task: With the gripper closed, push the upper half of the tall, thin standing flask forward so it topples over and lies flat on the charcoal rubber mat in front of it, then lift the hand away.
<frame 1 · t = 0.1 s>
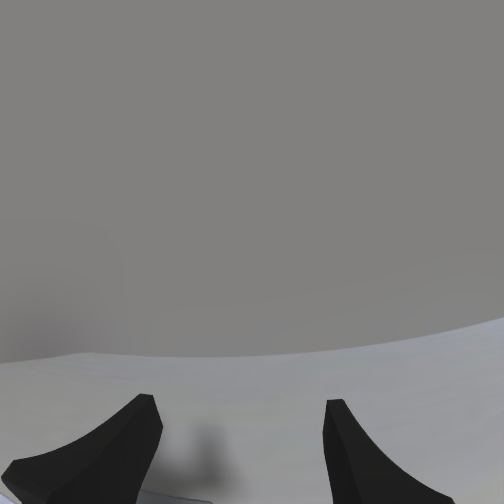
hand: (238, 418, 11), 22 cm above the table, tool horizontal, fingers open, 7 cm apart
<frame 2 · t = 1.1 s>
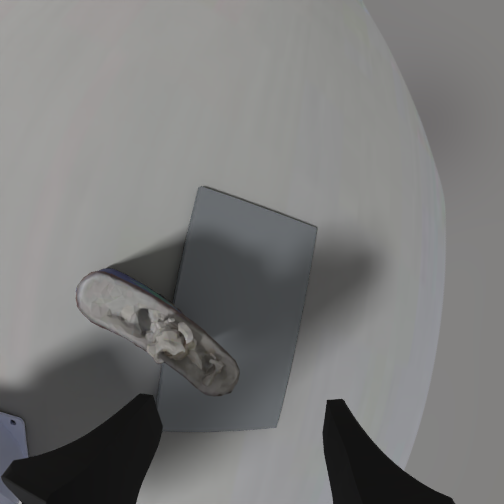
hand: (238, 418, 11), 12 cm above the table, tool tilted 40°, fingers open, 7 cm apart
flask: (147, 310, 21), on the table, touching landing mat
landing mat: (239, 324, 25), on the table
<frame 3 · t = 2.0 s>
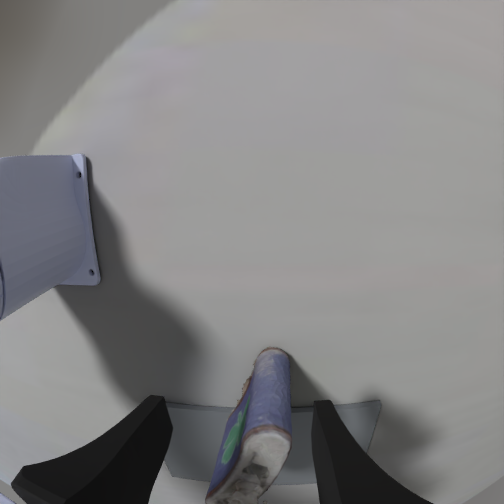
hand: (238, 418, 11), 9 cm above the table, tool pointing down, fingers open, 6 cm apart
flask: (257, 393, 22), on the table, touching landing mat
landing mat: (261, 450, 24), on the table
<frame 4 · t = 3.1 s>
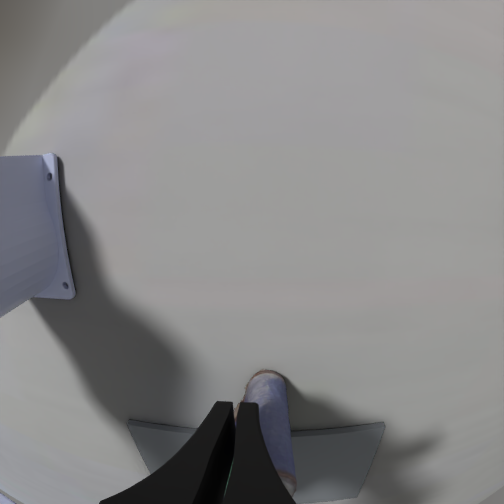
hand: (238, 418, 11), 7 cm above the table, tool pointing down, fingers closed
flask: (249, 417, 19), on the table, touching gripper, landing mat
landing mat: (255, 472, 21), on the table
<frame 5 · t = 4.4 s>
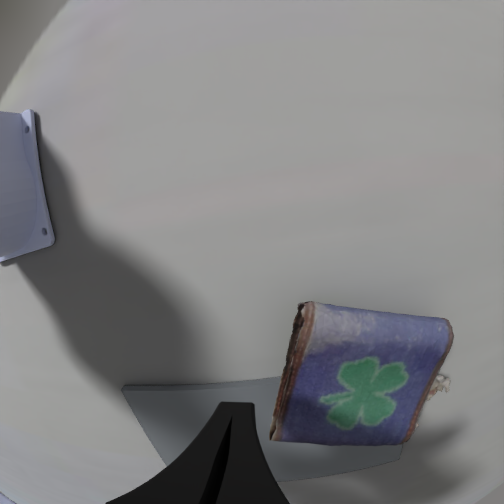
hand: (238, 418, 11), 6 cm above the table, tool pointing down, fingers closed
flask: (279, 377, 15), point 2 cm above the table, touching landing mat
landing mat: (275, 437, 19), on the table
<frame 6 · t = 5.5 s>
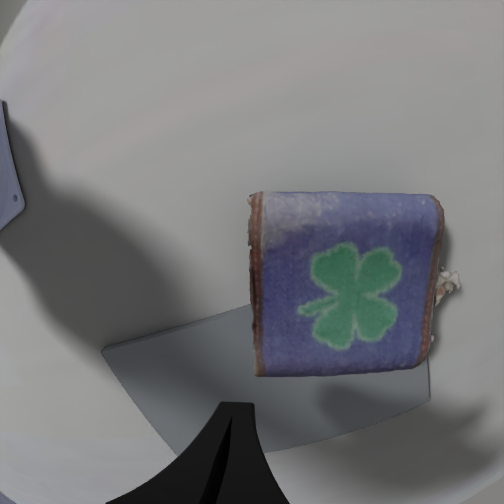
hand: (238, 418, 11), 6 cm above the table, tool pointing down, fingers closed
flask: (247, 292, 14), point 2 cm above the table, touching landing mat
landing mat: (273, 386, 18), on the table
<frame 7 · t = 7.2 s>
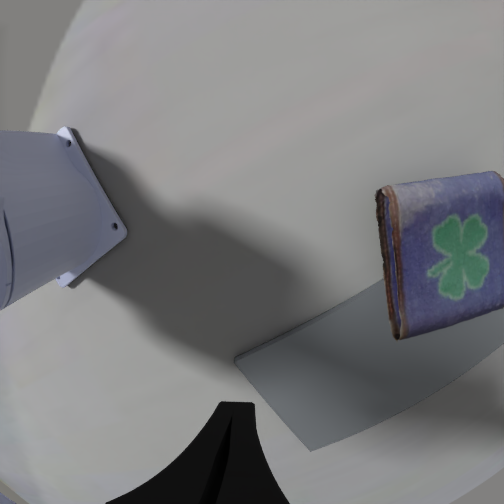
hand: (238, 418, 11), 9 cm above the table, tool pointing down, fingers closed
flask: (385, 269, 16), point 2 cm above the table, touching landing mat
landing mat: (394, 353, 20), on the table
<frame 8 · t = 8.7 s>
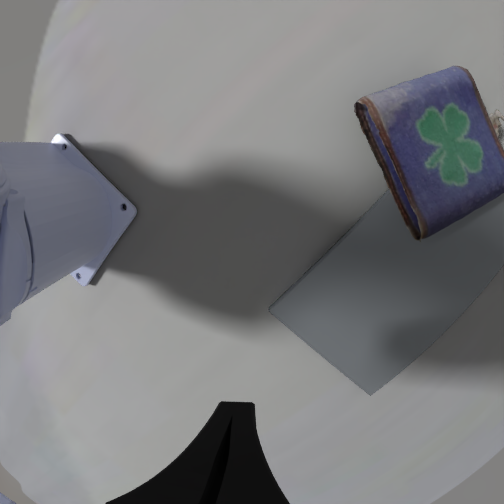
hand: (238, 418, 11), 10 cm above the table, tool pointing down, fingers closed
flask: (385, 173, 16), point 2 cm above the table, touching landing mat
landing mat: (423, 264, 19), on the table
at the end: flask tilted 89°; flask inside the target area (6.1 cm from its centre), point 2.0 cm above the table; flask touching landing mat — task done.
